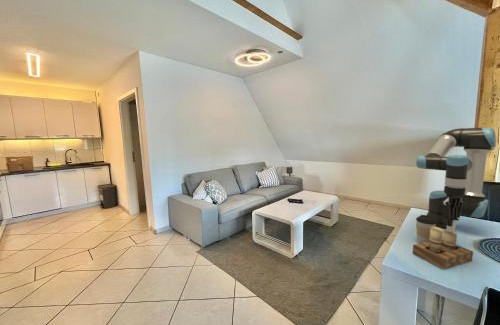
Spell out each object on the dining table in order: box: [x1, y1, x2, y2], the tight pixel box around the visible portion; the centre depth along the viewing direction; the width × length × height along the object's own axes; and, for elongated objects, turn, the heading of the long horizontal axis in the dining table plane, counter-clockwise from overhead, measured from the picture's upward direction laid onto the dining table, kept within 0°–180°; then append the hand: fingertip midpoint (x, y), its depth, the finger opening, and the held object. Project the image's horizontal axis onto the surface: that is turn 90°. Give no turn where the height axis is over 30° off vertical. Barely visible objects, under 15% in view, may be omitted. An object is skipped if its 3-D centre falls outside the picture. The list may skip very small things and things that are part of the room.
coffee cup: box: [415, 214, 437, 243], centre depth 122 cm, size 9×9×15 cm
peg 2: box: [443, 229, 458, 250], centre depth 108 cm, size 5×5×12 cm
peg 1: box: [429, 227, 444, 254], centre depth 105 cm, size 5×5×12 cm
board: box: [412, 239, 474, 270], centre depth 107 cm, size 20×14×5 cm
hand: (450, 231), depth 107 cm, fingers closed
